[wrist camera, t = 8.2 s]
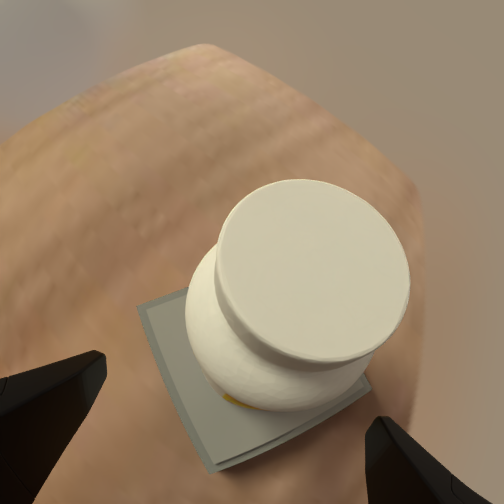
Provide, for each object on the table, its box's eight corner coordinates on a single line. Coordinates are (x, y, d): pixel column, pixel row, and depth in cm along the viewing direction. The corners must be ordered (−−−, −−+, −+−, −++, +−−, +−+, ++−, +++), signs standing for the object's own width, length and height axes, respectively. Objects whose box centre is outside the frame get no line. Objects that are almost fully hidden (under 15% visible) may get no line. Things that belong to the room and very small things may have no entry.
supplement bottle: (326, 367, 17) (475, 291, 6) (241, 428, 15) (299, 485, 4) (265, 288, 20) (326, 130, 9) (180, 340, 17) (119, 215, 6)
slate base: (358, 391, 19) (374, 388, 17) (210, 467, 15) (209, 475, 13) (286, 261, 24) (293, 245, 22) (143, 315, 20) (135, 304, 18)
